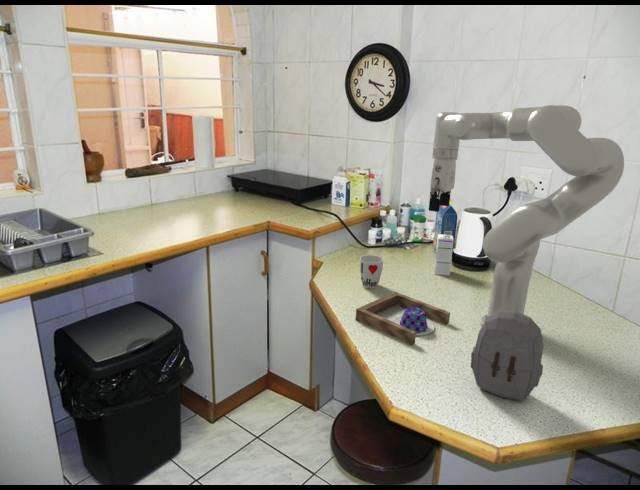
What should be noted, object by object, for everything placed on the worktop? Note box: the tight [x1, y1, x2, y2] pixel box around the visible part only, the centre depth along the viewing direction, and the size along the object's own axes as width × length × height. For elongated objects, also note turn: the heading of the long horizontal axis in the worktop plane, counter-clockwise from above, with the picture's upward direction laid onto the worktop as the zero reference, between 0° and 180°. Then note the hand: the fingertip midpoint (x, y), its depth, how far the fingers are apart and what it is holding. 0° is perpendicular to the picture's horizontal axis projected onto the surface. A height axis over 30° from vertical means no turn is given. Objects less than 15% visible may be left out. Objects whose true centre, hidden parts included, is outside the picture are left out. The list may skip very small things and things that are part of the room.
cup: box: [359, 254, 384, 289], centre depth 162 cm, size 8×8×10 cm
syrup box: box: [434, 234, 454, 276], centre depth 176 cm, size 6×6×14 cm
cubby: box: [355, 291, 451, 346], centre depth 138 cm, size 20×19×4 cm
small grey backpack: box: [470, 311, 545, 401], centre depth 103 cm, size 15×8×20 cm, turn 59°
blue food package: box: [432, 197, 458, 255], centre depth 196 cm, size 6×12×25 cm, turn 178°
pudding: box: [392, 307, 435, 336], centre depth 135 cm, size 12×12×5 cm
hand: (439, 208), depth 148 cm, fingers open, 9 cm apart
